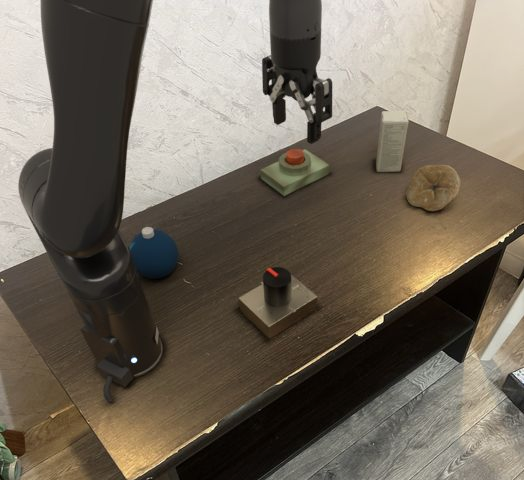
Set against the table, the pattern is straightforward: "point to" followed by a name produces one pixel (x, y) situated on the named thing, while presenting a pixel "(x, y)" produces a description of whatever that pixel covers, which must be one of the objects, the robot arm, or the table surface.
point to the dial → (277, 286)
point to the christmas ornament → (154, 253)
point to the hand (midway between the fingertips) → (296, 131)
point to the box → (391, 141)
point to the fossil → (433, 187)
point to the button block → (294, 173)
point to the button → (295, 157)
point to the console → (277, 308)
